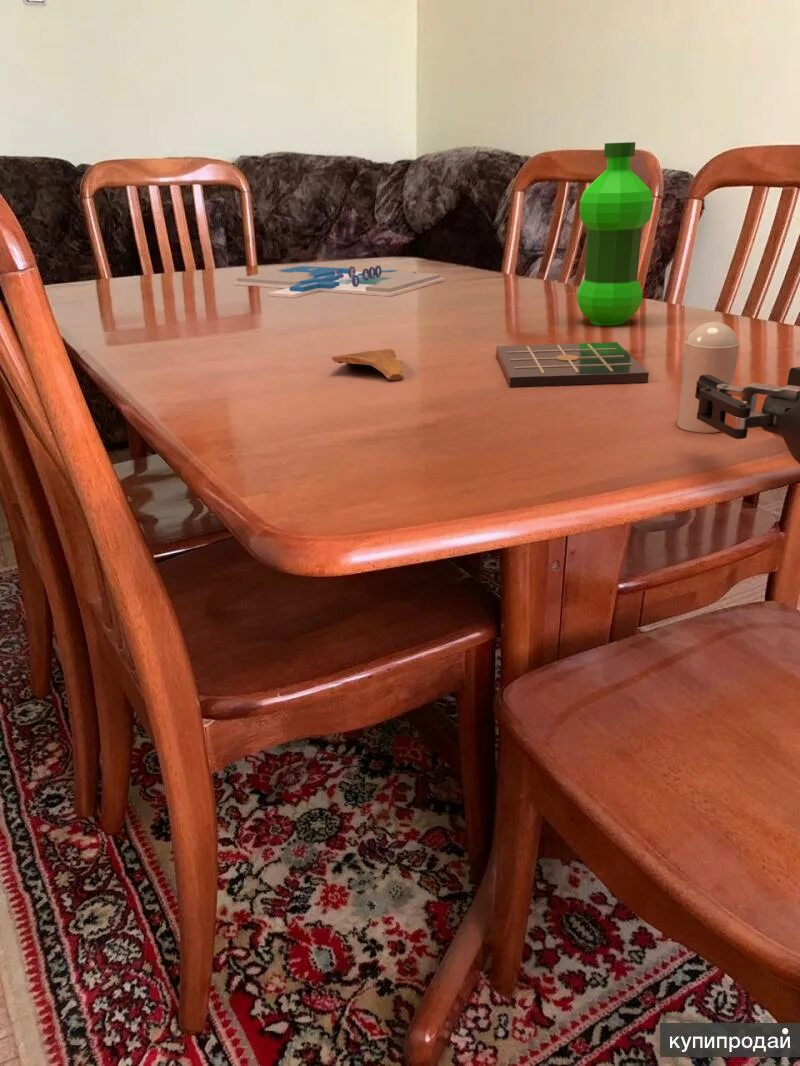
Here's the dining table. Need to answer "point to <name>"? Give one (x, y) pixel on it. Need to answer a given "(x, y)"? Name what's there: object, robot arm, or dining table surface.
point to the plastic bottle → (613, 239)
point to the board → (569, 364)
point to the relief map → (339, 281)
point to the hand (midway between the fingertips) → (746, 382)
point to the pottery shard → (375, 362)
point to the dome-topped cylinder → (705, 369)
